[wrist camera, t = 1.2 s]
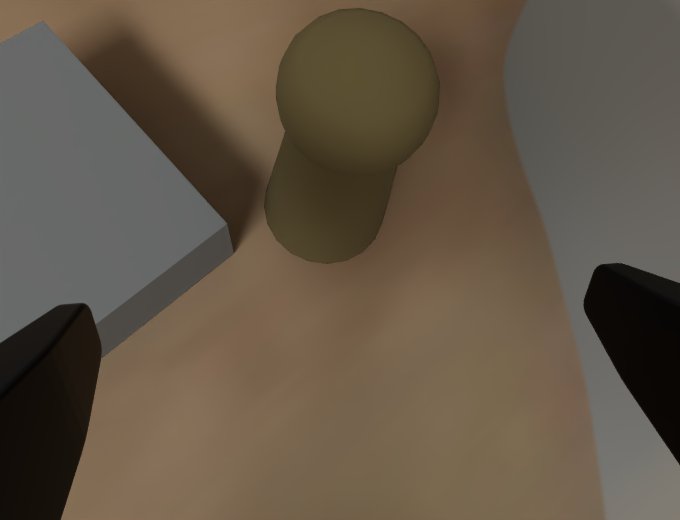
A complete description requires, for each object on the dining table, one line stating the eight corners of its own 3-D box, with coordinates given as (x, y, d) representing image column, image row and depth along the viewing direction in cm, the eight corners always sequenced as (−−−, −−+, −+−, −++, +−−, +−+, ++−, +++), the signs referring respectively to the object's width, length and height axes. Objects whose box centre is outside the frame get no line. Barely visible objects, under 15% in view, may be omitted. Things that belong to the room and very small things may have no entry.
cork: (394, 172, 25) (484, 10, 15) (367, 278, 23) (448, 179, 13) (284, 138, 25) (296, -52, 14) (248, 243, 23) (232, 112, 13)
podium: (233, 253, 23) (227, 223, 19) (-1, 439, 19) (-67, 448, 15) (78, 80, 24) (43, 20, 20) (-168, 224, 21) (-267, 185, 17)
